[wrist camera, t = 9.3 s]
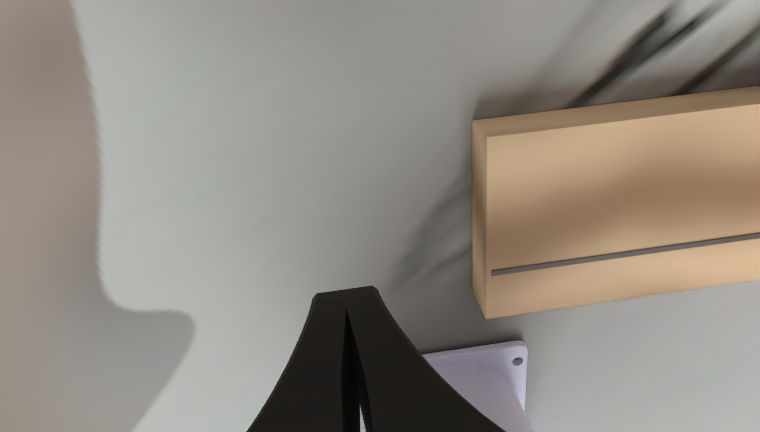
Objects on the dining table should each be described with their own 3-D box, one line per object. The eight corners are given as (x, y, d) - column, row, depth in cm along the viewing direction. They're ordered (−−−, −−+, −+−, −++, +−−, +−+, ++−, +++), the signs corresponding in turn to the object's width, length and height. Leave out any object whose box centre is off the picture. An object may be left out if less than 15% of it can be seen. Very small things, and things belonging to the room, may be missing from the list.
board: (904, 230, 26) (949, 252, 24) (472, 291, 24) (486, 320, 23) (975, 59, 22) (1036, 70, 20) (472, 120, 21) (487, 138, 19)
